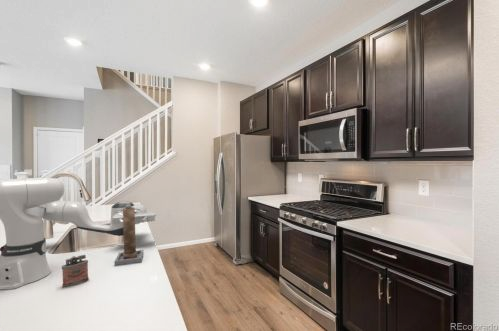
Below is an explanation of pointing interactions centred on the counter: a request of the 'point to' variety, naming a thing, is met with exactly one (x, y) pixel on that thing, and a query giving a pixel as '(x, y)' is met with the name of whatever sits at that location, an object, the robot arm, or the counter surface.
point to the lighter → (75, 271)
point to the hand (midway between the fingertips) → (132, 221)
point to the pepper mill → (129, 233)
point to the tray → (120, 260)
